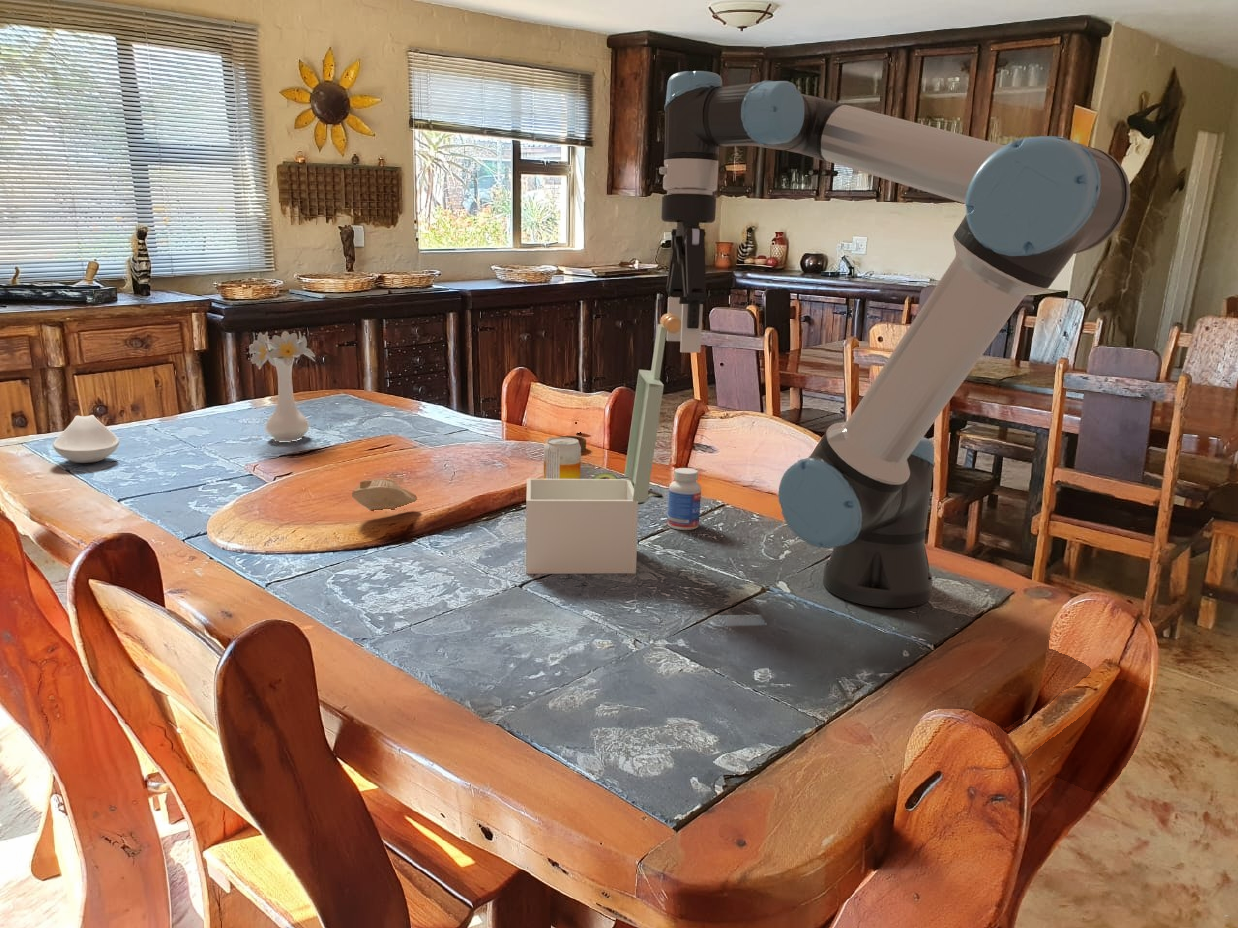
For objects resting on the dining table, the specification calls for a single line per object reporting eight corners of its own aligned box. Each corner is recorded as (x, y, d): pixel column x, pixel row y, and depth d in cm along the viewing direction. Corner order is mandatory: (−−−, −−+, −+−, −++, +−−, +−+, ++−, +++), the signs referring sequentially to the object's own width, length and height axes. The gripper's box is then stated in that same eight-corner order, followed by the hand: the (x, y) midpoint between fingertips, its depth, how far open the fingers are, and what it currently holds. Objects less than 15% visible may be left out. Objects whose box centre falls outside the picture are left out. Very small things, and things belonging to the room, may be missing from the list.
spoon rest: (122, 463, 187) (119, 429, 185) (55, 469, 181) (50, 433, 179) (116, 439, 206) (112, 408, 205) (54, 444, 200) (51, 412, 199)
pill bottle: (697, 532, 154) (700, 476, 151) (665, 529, 155) (667, 473, 152) (700, 522, 159) (703, 468, 157) (670, 519, 160) (672, 465, 158)
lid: (624, 476, 144) (649, 479, 144) (632, 500, 131) (660, 503, 131) (647, 308, 138) (673, 312, 138) (659, 316, 125) (687, 320, 125)
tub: (627, 545, 146) (630, 479, 143) (635, 573, 134) (638, 501, 132) (526, 546, 144) (527, 478, 142) (525, 573, 133) (526, 500, 130)
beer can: (585, 525, 155) (587, 439, 152) (568, 535, 150) (570, 446, 146) (554, 520, 158) (555, 435, 154) (536, 530, 152) (537, 441, 149)
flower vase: (285, 430, 220) (279, 325, 213) (334, 442, 209) (329, 332, 203) (235, 439, 209) (227, 328, 203) (284, 452, 199) (277, 336, 193)
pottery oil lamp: (433, 512, 160) (432, 473, 158) (375, 527, 151) (373, 486, 149) (402, 502, 165) (401, 464, 164) (344, 516, 156) (342, 476, 155)
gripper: (651, 195, 139) (646, 336, 144) (675, 188, 115) (669, 357, 120) (700, 197, 140) (693, 337, 145) (734, 190, 116) (725, 358, 121)
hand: (682, 346), depth 133 cm, fingers open, 13 cm apart
